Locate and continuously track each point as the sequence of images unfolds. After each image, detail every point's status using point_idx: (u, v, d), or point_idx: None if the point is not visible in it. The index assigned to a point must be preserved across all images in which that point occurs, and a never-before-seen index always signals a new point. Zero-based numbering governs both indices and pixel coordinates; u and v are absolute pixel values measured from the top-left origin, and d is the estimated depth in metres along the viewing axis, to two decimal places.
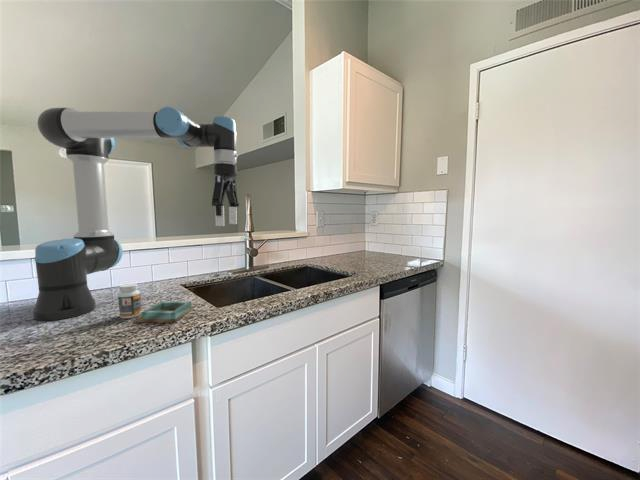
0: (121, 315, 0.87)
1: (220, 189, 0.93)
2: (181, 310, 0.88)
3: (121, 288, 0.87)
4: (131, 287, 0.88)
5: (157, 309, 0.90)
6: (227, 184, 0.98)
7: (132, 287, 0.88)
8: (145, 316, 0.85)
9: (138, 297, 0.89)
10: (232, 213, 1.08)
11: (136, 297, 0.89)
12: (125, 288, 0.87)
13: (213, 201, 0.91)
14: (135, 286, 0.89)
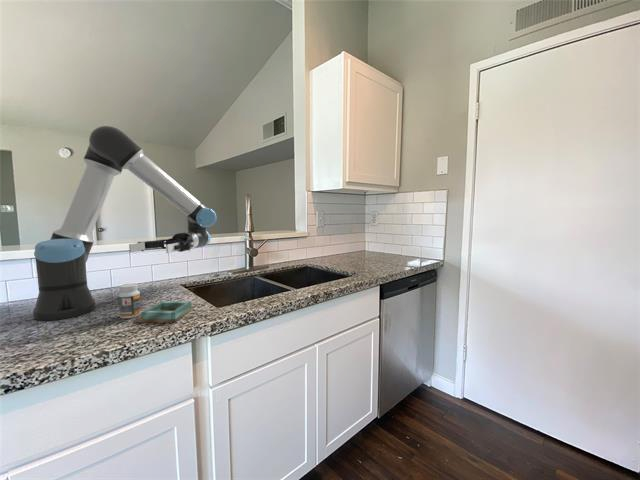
0: (121, 315, 0.87)
1: (190, 247, 1.08)
2: (181, 310, 0.88)
3: (121, 288, 0.87)
4: (131, 287, 0.88)
5: (157, 309, 0.90)
6: None
7: (132, 287, 0.88)
8: (145, 316, 0.85)
9: (138, 297, 0.89)
10: (139, 246, 1.02)
11: (136, 297, 0.89)
12: (125, 288, 0.87)
13: (189, 244, 1.04)
14: (135, 286, 0.89)
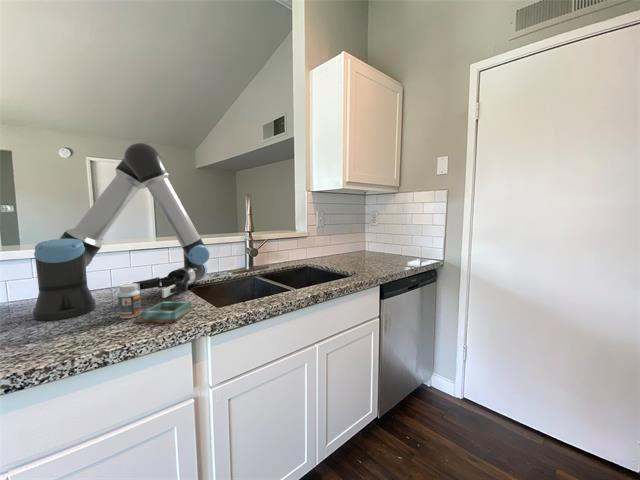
0: (121, 315, 0.87)
1: (187, 286, 1.06)
2: (181, 310, 0.88)
3: (121, 288, 0.87)
4: (131, 287, 0.88)
5: (157, 309, 0.90)
6: None
7: (132, 287, 0.88)
8: (145, 316, 0.85)
9: (138, 297, 0.89)
10: None
11: (136, 297, 0.89)
12: (125, 288, 0.87)
13: (186, 285, 1.01)
14: (135, 286, 0.89)
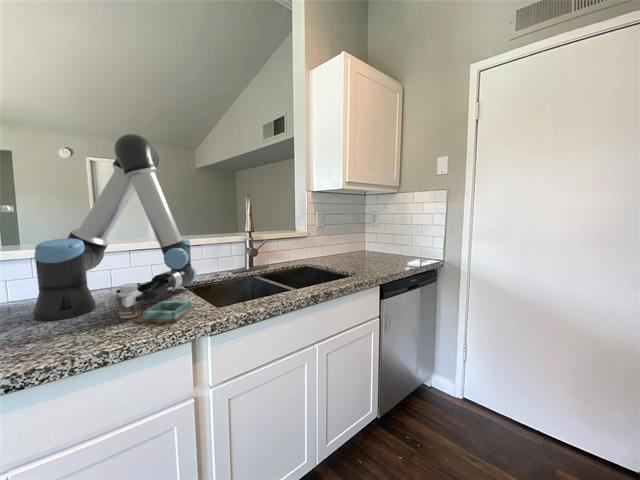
0: (121, 315, 0.87)
1: (162, 294, 0.96)
2: (181, 310, 0.88)
3: (121, 288, 0.87)
4: (131, 287, 0.88)
5: (157, 309, 0.90)
6: None
7: (132, 287, 0.88)
8: (145, 316, 0.85)
9: None
10: None
11: None
12: (125, 288, 0.87)
13: (154, 293, 0.91)
14: (135, 286, 0.89)
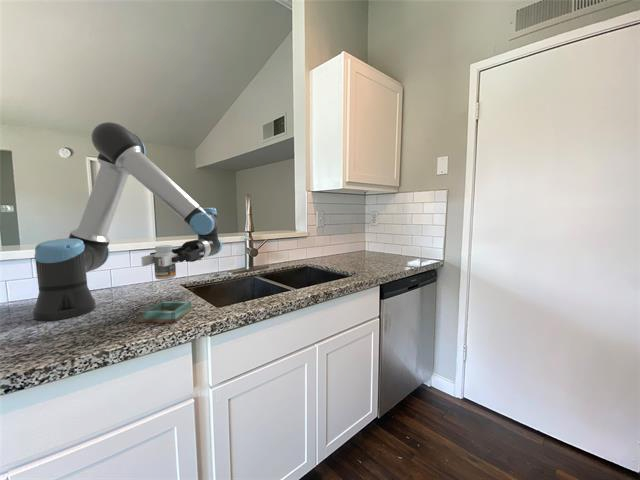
0: (157, 276, 0.86)
1: (195, 258, 0.94)
2: (181, 310, 0.88)
3: (157, 248, 0.86)
4: (167, 247, 0.86)
5: (157, 309, 0.90)
6: None
7: (168, 248, 0.87)
8: (145, 316, 0.85)
9: None
10: (153, 259, 0.87)
11: None
12: (161, 248, 0.85)
13: (188, 255, 0.90)
14: (170, 247, 0.87)
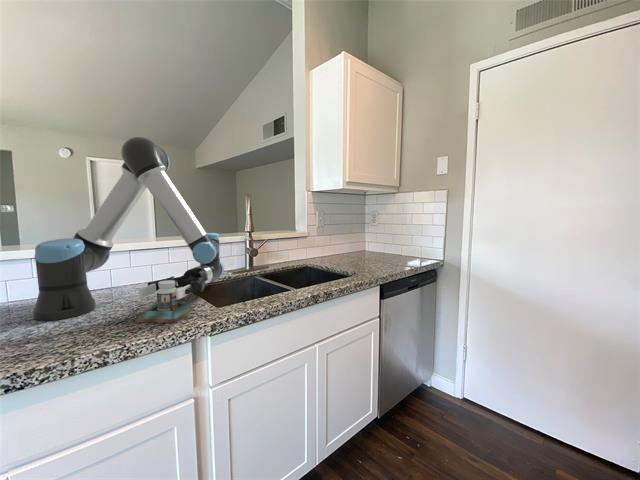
0: None
1: (203, 287, 0.96)
2: (181, 310, 0.88)
3: (160, 285, 0.87)
4: (170, 284, 0.87)
5: None
6: None
7: (171, 284, 0.88)
8: (145, 316, 0.85)
9: None
10: (150, 289, 0.90)
11: (175, 294, 0.88)
12: (164, 285, 0.87)
13: (201, 285, 0.92)
14: (173, 283, 0.89)
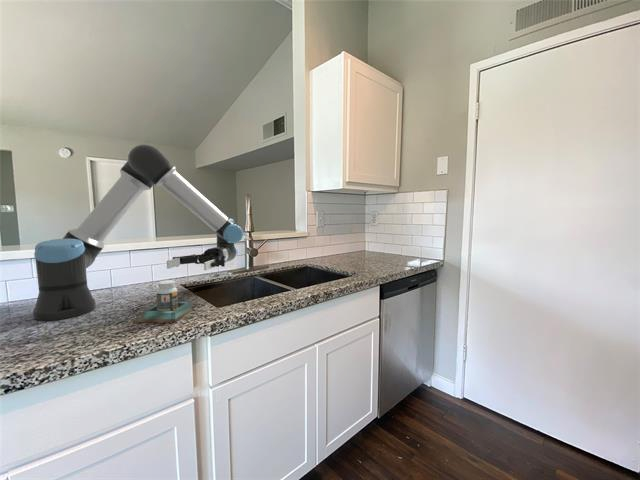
0: None
1: None
2: (181, 310, 0.88)
3: (160, 285, 0.87)
4: (170, 284, 0.87)
5: None
6: None
7: (171, 284, 0.88)
8: (145, 316, 0.85)
9: (176, 294, 0.89)
10: (175, 262, 1.03)
11: (175, 294, 0.88)
12: (164, 285, 0.87)
13: (224, 261, 1.05)
14: (173, 283, 0.89)
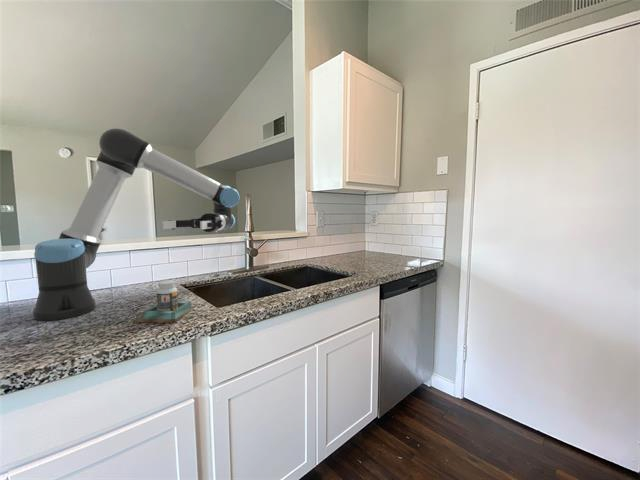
0: None
1: None
2: (181, 310, 0.88)
3: (160, 285, 0.87)
4: (170, 284, 0.87)
5: None
6: None
7: (171, 284, 0.88)
8: (145, 316, 0.85)
9: (176, 294, 0.89)
10: (171, 224, 1.01)
11: (175, 294, 0.88)
12: (164, 285, 0.87)
13: (221, 222, 1.03)
14: (173, 283, 0.89)
